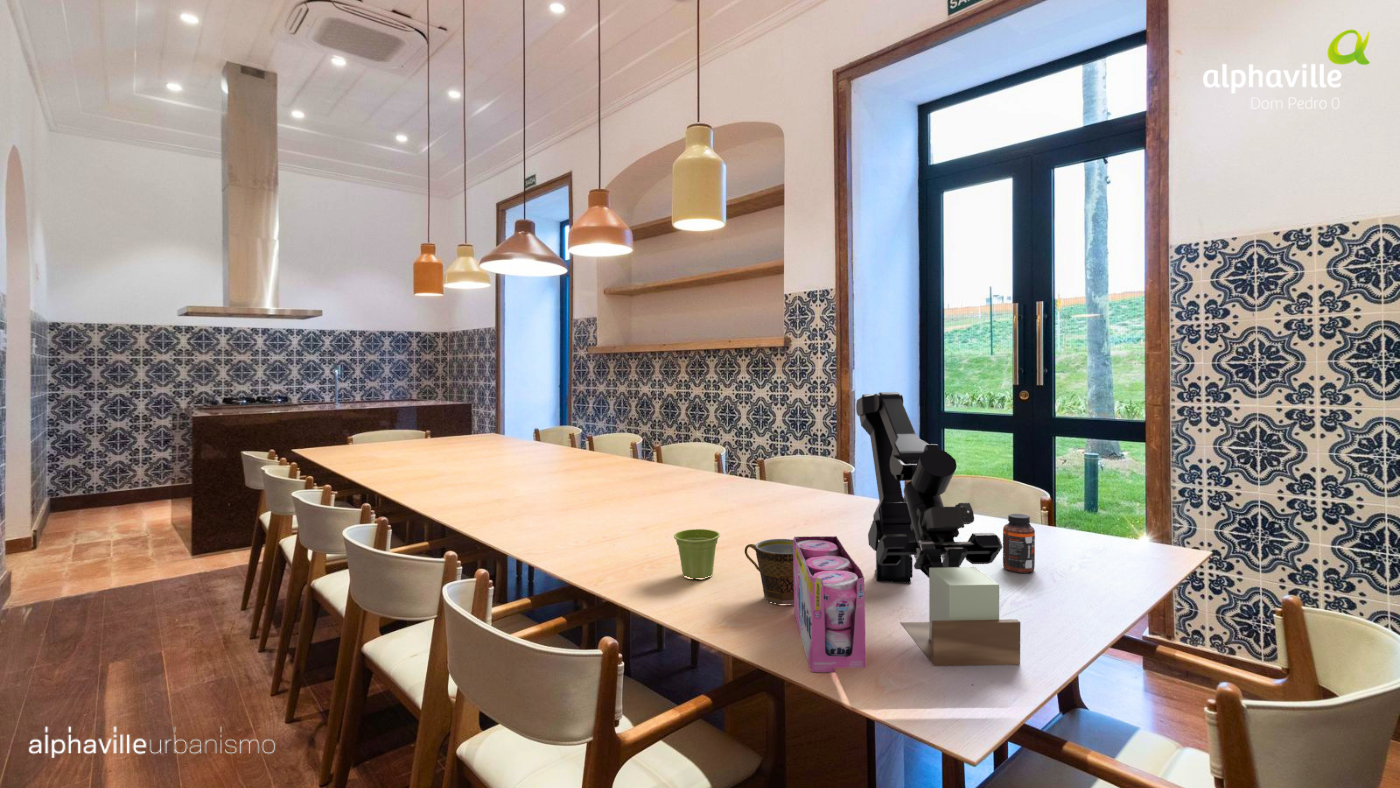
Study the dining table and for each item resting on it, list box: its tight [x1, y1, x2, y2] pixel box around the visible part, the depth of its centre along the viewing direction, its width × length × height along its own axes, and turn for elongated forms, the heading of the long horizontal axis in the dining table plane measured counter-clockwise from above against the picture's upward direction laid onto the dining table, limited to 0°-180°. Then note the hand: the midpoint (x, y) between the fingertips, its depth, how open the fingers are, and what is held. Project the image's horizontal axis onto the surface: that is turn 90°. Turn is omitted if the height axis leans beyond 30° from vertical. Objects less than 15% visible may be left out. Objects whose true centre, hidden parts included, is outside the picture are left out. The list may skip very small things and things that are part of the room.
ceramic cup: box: [744, 538, 794, 604], centre depth 120 cm, size 13×10×10 cm
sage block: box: [928, 566, 1000, 641], centre depth 95 cm, size 8×7×11 cm
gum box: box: [792, 535, 866, 674], centre depth 101 cm, size 24×8×14 cm, turn 178°
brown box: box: [900, 618, 1021, 667], centre depth 98 cm, size 15×12×7 cm
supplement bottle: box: [1002, 513, 1036, 574], centre depth 135 cm, size 6×6×11 cm
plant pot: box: [673, 528, 721, 578], centre depth 133 cm, size 9×9×9 cm
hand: (951, 599), depth 99 cm, fingers closed, pressing on sage block
